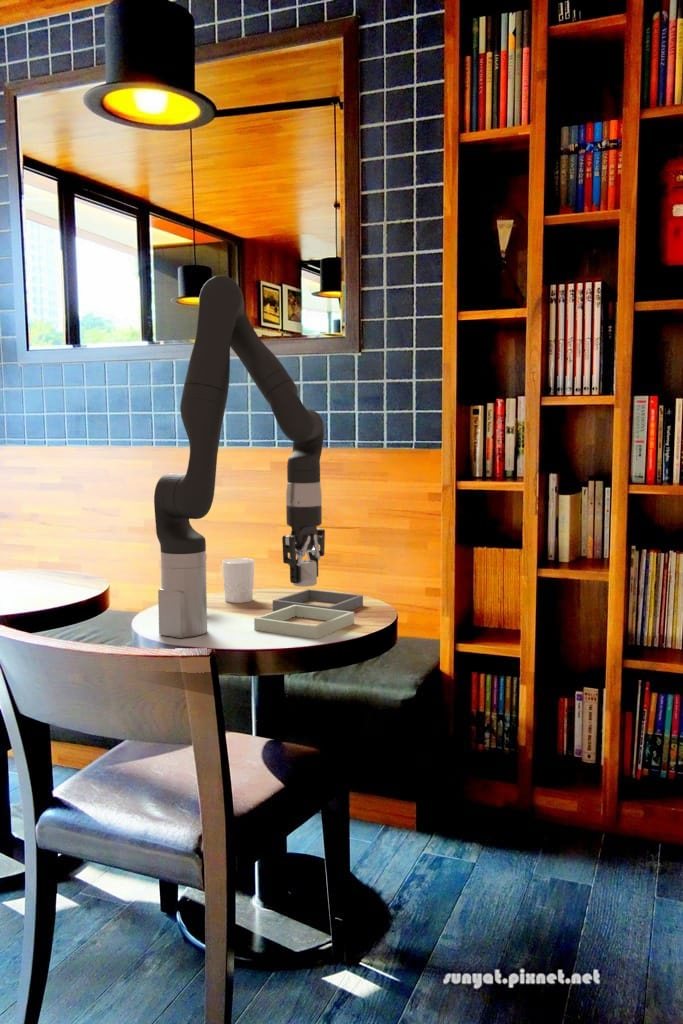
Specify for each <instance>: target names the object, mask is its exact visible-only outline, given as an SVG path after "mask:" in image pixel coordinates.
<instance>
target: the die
mask: <svg viewBox="0 0 683 1024" xmlns="http://www.w3.org/2000/svg"><path fill="white" fill-rule="evenodd" d="M300 566H301V582H300V583H298V584H297V583H292V585H293V586H294V587H304V588H307V587H308V588H309V587H314V586H317V583H318V582H317V581H318V579H317V578H318V577H317V565H316V561H314V560H310V559H302V560H301V564H300Z"/></svg>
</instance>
